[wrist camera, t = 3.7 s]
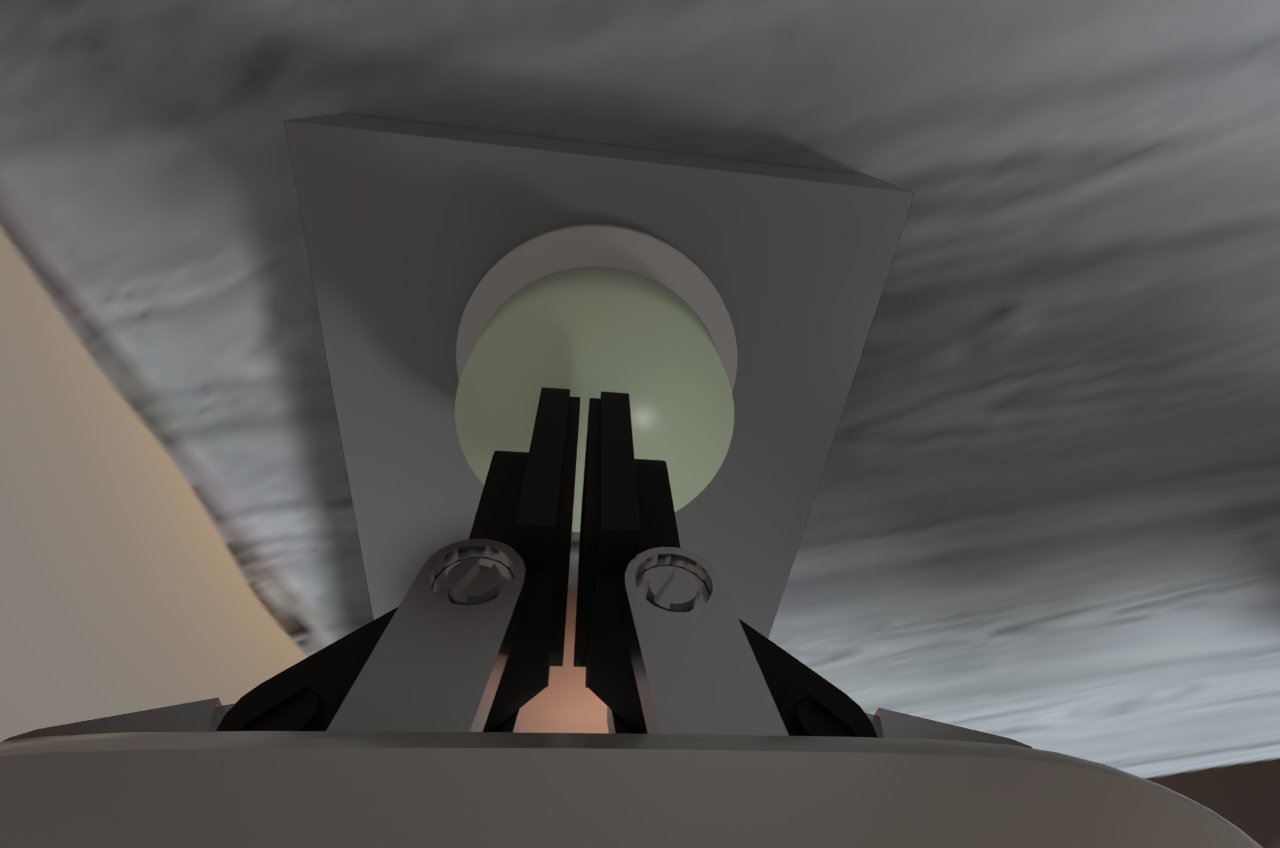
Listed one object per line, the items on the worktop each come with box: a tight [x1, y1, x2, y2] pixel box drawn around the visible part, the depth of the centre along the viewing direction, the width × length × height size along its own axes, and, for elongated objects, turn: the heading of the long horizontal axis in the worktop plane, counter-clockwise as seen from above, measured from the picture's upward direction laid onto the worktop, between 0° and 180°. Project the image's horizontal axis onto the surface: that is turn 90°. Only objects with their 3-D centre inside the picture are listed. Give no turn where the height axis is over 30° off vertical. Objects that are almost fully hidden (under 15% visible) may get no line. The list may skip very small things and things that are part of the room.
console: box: [284, 113, 915, 639], centre depth 21 cm, size 14×30×4 cm, turn 174°
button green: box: [455, 266, 734, 532], centre depth 13 cm, size 6×6×2 cm
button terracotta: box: [519, 593, 609, 733], centre depth 18 cm, size 6×6×2 cm
